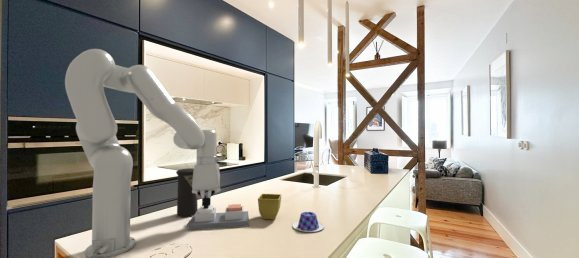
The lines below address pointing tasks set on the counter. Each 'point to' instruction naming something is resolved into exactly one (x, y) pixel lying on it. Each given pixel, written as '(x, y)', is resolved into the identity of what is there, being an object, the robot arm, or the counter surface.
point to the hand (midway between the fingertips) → (206, 207)
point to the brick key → (234, 207)
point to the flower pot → (269, 205)
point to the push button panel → (219, 219)
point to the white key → (206, 210)
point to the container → (186, 194)
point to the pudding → (308, 222)
